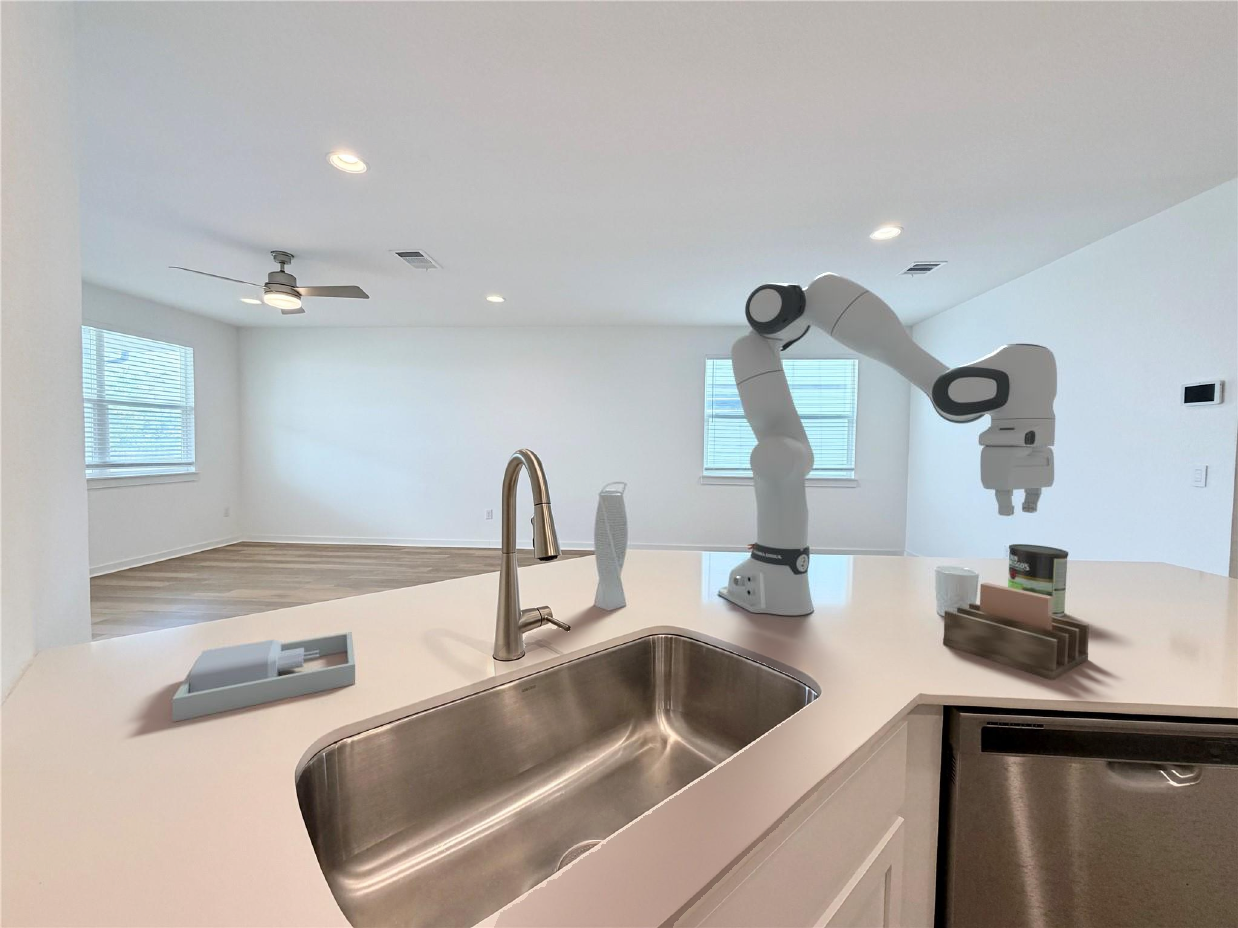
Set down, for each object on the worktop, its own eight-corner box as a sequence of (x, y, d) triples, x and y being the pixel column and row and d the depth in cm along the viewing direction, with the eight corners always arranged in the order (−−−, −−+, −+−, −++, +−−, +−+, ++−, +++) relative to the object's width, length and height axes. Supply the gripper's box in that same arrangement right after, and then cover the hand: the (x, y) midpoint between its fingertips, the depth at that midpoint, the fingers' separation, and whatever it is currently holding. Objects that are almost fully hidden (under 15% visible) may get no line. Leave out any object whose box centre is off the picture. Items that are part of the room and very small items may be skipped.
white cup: (963, 610, 110) (964, 566, 110) (985, 622, 102) (987, 575, 102) (926, 608, 111) (927, 565, 111) (946, 620, 103) (947, 574, 103)
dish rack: (943, 643, 91) (944, 611, 90) (982, 629, 98) (983, 599, 98) (1052, 679, 77) (1054, 641, 77) (1087, 659, 85) (1089, 624, 84)
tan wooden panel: (978, 636, 91) (980, 583, 91) (983, 634, 92) (985, 582, 92) (1045, 656, 83) (1048, 598, 82) (1050, 654, 84) (1053, 596, 83)
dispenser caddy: (199, 675, 75) (199, 656, 75) (351, 648, 85) (351, 631, 85) (172, 721, 62) (172, 698, 62) (355, 683, 73) (355, 664, 73)
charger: (318, 680, 74) (189, 706, 67) (319, 657, 82) (205, 678, 75) (317, 650, 74) (189, 672, 66) (319, 630, 82) (204, 647, 74)
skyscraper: (612, 597, 116) (614, 480, 115) (634, 605, 111) (636, 482, 110) (587, 604, 111) (588, 482, 110) (608, 613, 105) (610, 484, 104)
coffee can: (1025, 615, 107) (1028, 552, 106) (996, 601, 117) (998, 543, 117) (1078, 618, 105) (1081, 554, 105) (1043, 603, 116) (1046, 544, 115)
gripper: (1025, 437, 94) (1021, 508, 95) (973, 435, 84) (970, 515, 84) (1067, 437, 89) (1063, 512, 89) (1017, 434, 78) (1014, 520, 79)
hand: (1018, 513), depth 87 cm, fingers open, 8 cm apart
